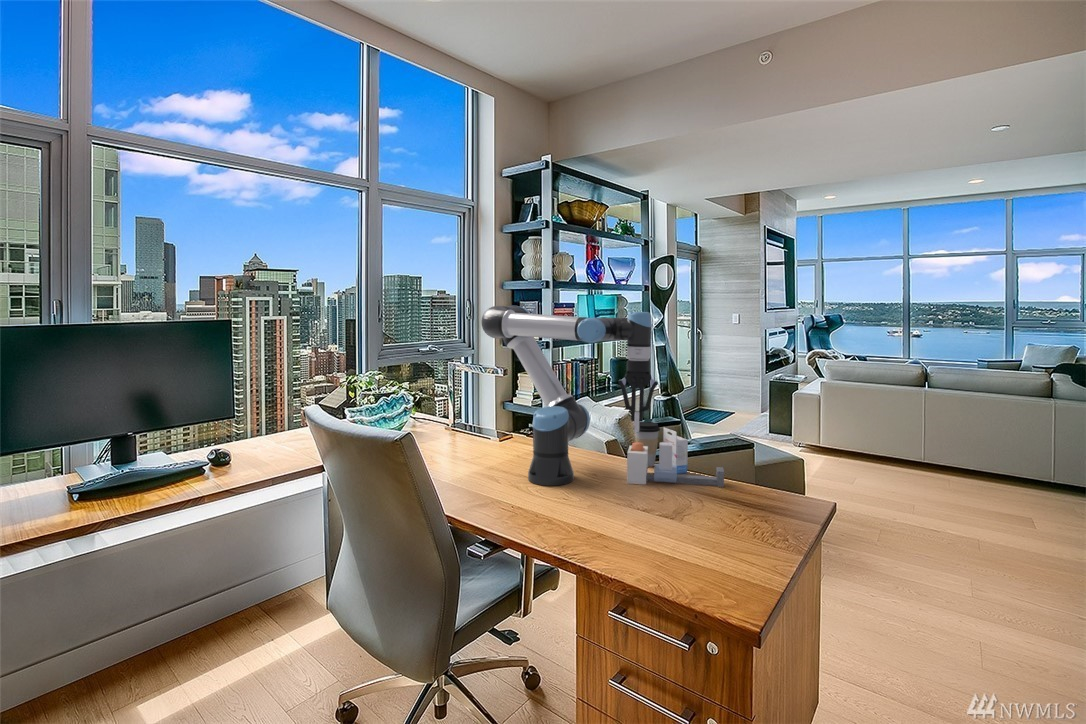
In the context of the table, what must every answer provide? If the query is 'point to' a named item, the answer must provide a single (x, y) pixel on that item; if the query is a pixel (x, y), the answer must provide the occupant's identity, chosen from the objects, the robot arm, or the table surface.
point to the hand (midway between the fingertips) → (636, 430)
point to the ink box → (677, 449)
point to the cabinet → (637, 466)
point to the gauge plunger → (637, 446)
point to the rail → (696, 479)
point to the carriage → (665, 464)
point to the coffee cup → (648, 439)
